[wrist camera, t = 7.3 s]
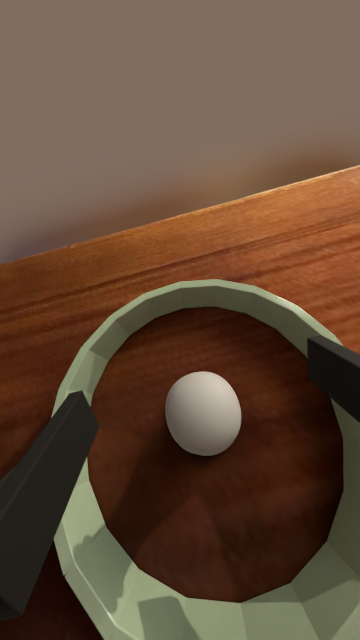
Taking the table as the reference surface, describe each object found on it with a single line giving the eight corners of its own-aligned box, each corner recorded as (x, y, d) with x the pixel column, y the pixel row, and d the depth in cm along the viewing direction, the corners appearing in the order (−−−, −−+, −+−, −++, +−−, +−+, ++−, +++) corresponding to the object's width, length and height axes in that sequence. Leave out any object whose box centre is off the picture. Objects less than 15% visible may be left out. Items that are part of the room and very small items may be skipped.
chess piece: (163, 388, 16) (123, 363, 8) (224, 370, 16) (243, 328, 8) (180, 463, 14) (145, 534, 6) (251, 442, 14) (314, 481, 6)
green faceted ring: (25, 516, 14) (-29, 547, 10) (138, 284, 21) (127, 262, 18) (363, 726, 9) (451, 900, 6) (350, 329, 17) (383, 309, 13)
